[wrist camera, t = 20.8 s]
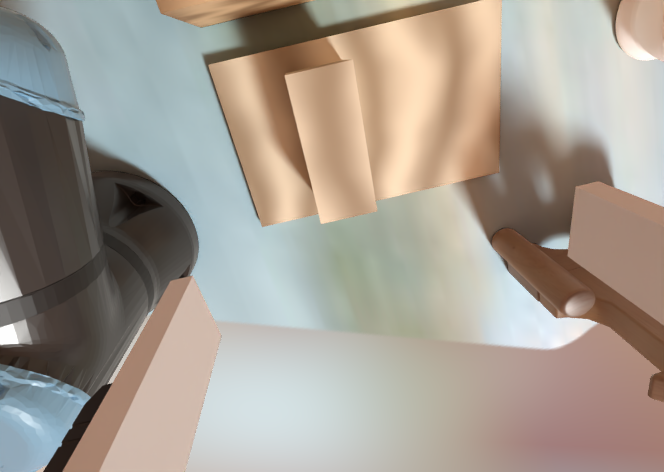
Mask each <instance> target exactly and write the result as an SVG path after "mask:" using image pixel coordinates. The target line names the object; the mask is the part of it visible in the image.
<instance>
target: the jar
mask: <svg viewBox="0 0 664 472" xmlns="http://www.w3.org/2000/svg"><path fill="white" fill-rule="evenodd" d="M616 36H617V40H618V43H619V45H620V47H621V49H622V50H623V51H624V52H625V53H626V54H627V55H628V56H630V57H632V58H634V59H638V60H653V59H658V60H661V61H663V62H664V0H621V3H620V5H619V9H618V12H617V17H616Z"/></svg>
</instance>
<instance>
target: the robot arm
mask: <svg viewBox="0 0 664 472" xmlns="http://www.w3.org/2000/svg"><path fill="white" fill-rule="evenodd" d="M82 120H85V116H84V113H83V111H81V110H80V109H79V106H78V103H77V99H76V95H75V91H74V88H73V84H72V80H71V76H70V72H69V68H68V63H67V59H66V56H65V54H64V51H63V49H62V47H61V46H60V44H59V43H58V41H57V40H56V39H55V37H54V36H53V35H52V34H51V33H50V32H49V31H48V30H46V29H45V28H44V27H43V26H42V25H40V24H39V23H37V22H36V21H34V20H32V19H31V18H29V17H27V16H25V15H23V14H20V13H18V12H15V11H12V10H10V9H7V8H4V7H1V6H0V472H36V471H37V470H39V469H41V468H42V467H44V466H46V465H47V464H48V465H47V467H46V468H45V470H44V471H43V472H185V470H186V466H187V462H188V459H189V455H190V451H191V448H192V444H193V440H194V436H195V433H196V429H197V425H198V421H199V418H200V414H201V410H202V407H203V403H204V399H205V395H206V392H207V388H208V384H209V381H210V377H211V373H212V369H213V365H214V362H215V358H216V355H217V350H218V347H219V343H220V340H221V334H220V332H219V329H218V327H217V325H216V323H215V321H214V319H213V317H212V315H211V313H210V311H209V309H208V306H207V304H206V302H205V300H204V298H203V296H202V294H201V292H200V290H199V288H198V286H197V283H196V281H195V279H194V277H193V276H190V274H191V272H192V270H193V268H194V266H195V264H196V261H197V257H198V250H199V243H198V236H197V232H196V229H195V226H194V224H193V222H192V219H191V218H190V216H189V214H188V213H187V211H186V210H185V209H184V207H183V206H182V205H181V204H180V203H179V202H178V201H177V200H176V199H175V198H174V197H173V196H172V195H171V194H170V193H168V192H167V191H166V190H164V189H163V188H161V187H160V186H158V185H156V184H155V183H153V182H151V181H149V180H146V179H144V178H142V177H139V176H136V175H132V174H128V173H123V172H116V171H99V172H92V173H91V170H90V164H89V158H88V152H87V147H86V141H85V135H84V129H83V123H82ZM567 256H568V257H569V258H571V259H572V260H573V261H575V262H576V263H578V264H579V265H580V266H582V267H583V268H585V269H586V270H587V271H589V272H590V273H591V274H593V275H594V276H596V277H597V278H598V279H600V280H601V281H603V282H604V283H605V284H607V285H608V286H610V287H611V288H612V289H614V290H615V291H617V292H618V293H619V294H621V295H622V296H623V297H625V298H626V299H628V300H629V301H630V302H632V303H633V304H635V305H636V306H637V307H639V308H640V309H642V310H643V311H644V312H646V313H647V314H649V315H650V316H651V317H653V318H654V319H655V320H657V321H658V322H660V323H661V324H662V325H664V207H662V206H659V205H657V204H654V203H652V202H649V201H647V200H644V199H642V198H639V197H637V196H634V195H632V194H629V193H627V192H624V191H622V190H619V189H617V188H614V187H612V186H609V185H607V184H604V183H601V182H599V181H597V182H593V183H589V184H584V185H580V186H576V188H575V196H574V205H573V213H572V222H571V230H570V239H569V247H568V255H567ZM153 309H154V311H153V313H152V315H151V316H150V318H149V320H148V322H147V324H146V325H145V327H144V329H143V331H142V332H141V334H140V336H139V338H138V339H137V341H136V343H135V345H134V347H133V348H132V350H131V352H130V354H129V355H128V357H127V359H126V361H125V362H124V364H123V366H122V368H121V369H120V371H119V373H118V375H117V377H116V378H115V380H114V382H113V383H111V384H108V382H109V380H110V378H111V377H112V375H113V373H114V371H115V370H116V368H117V366H118V365H119V363H120V361H121V359H122V358H123V356H124V354H125V352H126V351H127V349H128V347H129V346H130V344H131V342H132V340H133V339H134V337H135V335H136V334H137V332H138V330H139V328H140V326H141V325H142V323H143V321H144V319H145V318H146V316H147V314H148V313H149V312H150V311H152V310H153Z"/></svg>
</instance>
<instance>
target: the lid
mask: <svg viewBox="0 0 664 472" xmlns="http://www.w3.org/2000/svg"><path fill="white" fill-rule="evenodd" d="M501 11H502V0H481V1H477V2H473V3H468V4H464V5H460V6H456V7H451V8H447V9H443V10H439V11H434V12H430V13H426V14H422V15H417V16H413V17H409V18H405V19H400V20H396V21H392V22H388V23H383V24H379V25H375V26H371V27H366V28H362V29H358V30H354V31H350V32H345V33H341V34H337V35H333V36H328V37H324V38H320V39H316V40H311V41H307V42H303V43H299V44H294V45H290V46H286V47H282V48H277V49H273V50H269V51H265V52H260V53H256V54H252V55H248V56H243V57H239V58H235V59H231V60H227V61H222V62H218V63H214V64H210V65H208V66H209V69H210V72H211V75H212V78H213V81H214V84H215V87H216V90H217V93H218V96H219V99H220V102H221V105H222V108H223V111H224V114H225V117H226V120H227V123H228V126H229V129H230V132H231V135H232V138H233V141H234V144H235V147H236V150H237V153H238V156H239V159H240V162H241V165H242V168H243V171H244V174H245V177H246V180H247V183H248V186H249V189H250V192H251V195H252V198H253V201H254V204H255V207H256V210H257V213H258V216H259V219H260V222H261V225H262V227H264V226H268V225H273V224H277V223H281V222H286V221H290V220H294V219H299V218H303V217H307V216H312V215H316V214H319V217H320V221H321V224H323V223H328V222H332V221H336V220H341V219H345V218H350V217H354V216H358V215H363V214H367V213H371V212H376V211H377V206H376V201H377V200H382V199H386V198H390V197H395V196H399V195H403V194H408V193H412V192H416V191H421V190H425V189H429V188H434V187H438V186H443V185H447V184H451V183H456V182H460V181H464V180H469V179H473V178H477V177H482V176H486V175H490V174H495V173H499V149H500V80H501Z"/></svg>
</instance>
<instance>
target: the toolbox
mask: <svg viewBox="0 0 664 472" xmlns="http://www.w3.org/2000/svg"><path fill="white" fill-rule="evenodd" d="M309 1H314V0H156V2H157V4H158V7H159V10H160V12H161V14H164V15H167V16H170V17H173V18H175V19H178V20H181V21H184V22H187V23H190V24H193V25H195V26H198V27H201V28H202V27H206V26H210V25H214V24H219V23H223V22H227V21H231V20H235V19H239V18H243V17H247V16H252V15H256V14H260V13H264V12H268V11H272V10H276V9H280V8H285V7H289V6H293V5H297V4H301V3H305V2H309Z"/></svg>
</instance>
